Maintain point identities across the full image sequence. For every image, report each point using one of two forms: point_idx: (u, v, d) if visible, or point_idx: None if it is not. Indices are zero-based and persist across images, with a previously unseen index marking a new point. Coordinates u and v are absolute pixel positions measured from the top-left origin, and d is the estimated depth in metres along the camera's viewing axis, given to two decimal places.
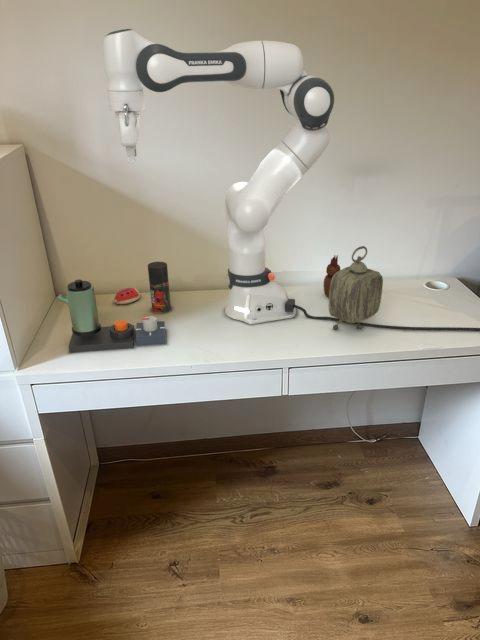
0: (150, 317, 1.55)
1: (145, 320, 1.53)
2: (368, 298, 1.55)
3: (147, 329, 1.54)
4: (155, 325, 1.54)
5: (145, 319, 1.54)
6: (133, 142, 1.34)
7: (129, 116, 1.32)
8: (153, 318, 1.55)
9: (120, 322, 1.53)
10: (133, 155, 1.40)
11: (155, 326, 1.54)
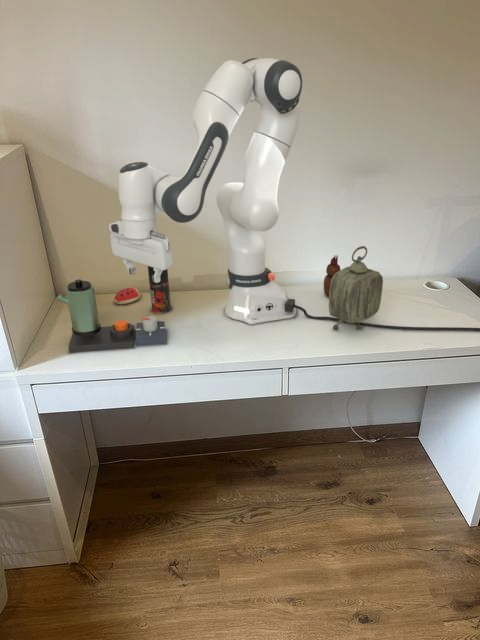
0: (150, 317, 1.55)
1: (145, 320, 1.53)
2: (368, 298, 1.55)
3: (147, 329, 1.54)
4: (155, 325, 1.54)
5: (145, 319, 1.54)
6: (172, 264, 1.42)
7: None
8: (153, 318, 1.55)
9: (120, 322, 1.53)
10: (159, 275, 1.46)
11: (155, 326, 1.54)
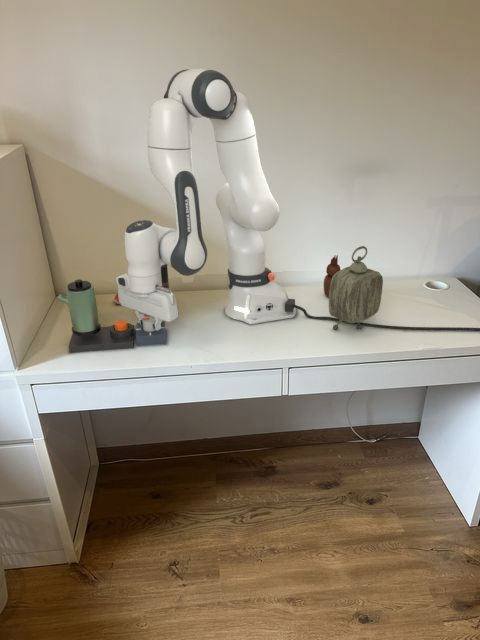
0: (150, 317, 1.55)
1: (145, 320, 1.53)
2: (368, 298, 1.55)
3: (147, 329, 1.54)
4: None
5: (145, 319, 1.54)
6: (177, 316, 1.48)
7: None
8: (153, 318, 1.55)
9: (120, 322, 1.53)
10: (160, 323, 1.53)
11: None
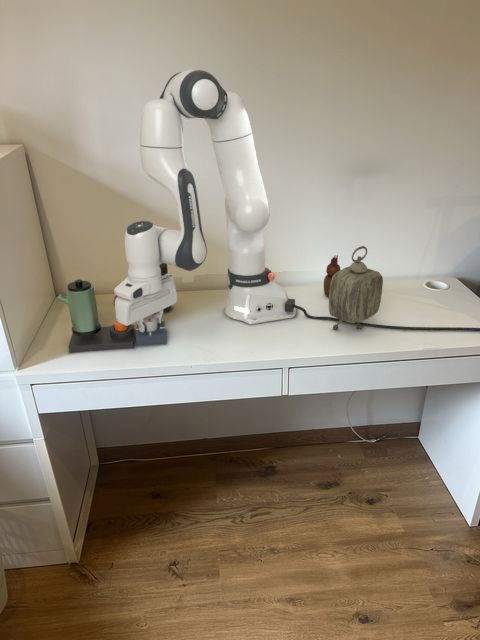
0: (145, 319, 1.54)
1: (152, 320, 1.53)
2: (368, 298, 1.55)
3: (156, 326, 1.55)
4: None
5: (150, 320, 1.53)
6: None
7: None
8: (148, 317, 1.55)
9: None
10: None
11: None
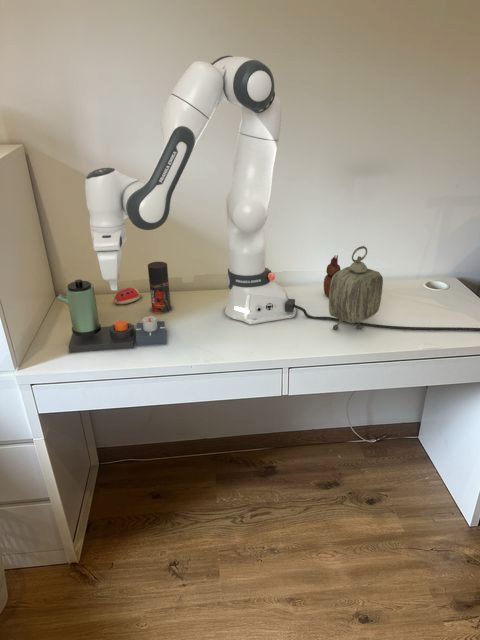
0: (145, 319, 1.54)
1: (152, 320, 1.53)
2: (368, 298, 1.55)
3: (156, 326, 1.55)
4: None
5: (150, 320, 1.53)
6: None
7: None
8: (148, 317, 1.55)
9: (120, 322, 1.53)
10: None
11: None
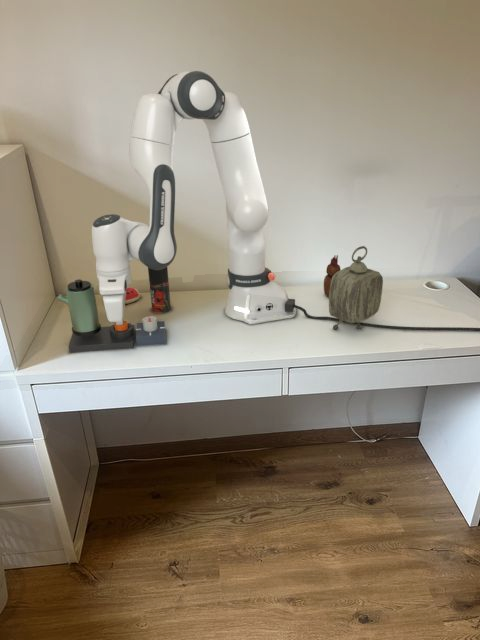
0: (145, 319, 1.54)
1: (152, 320, 1.53)
2: (368, 298, 1.55)
3: (156, 326, 1.55)
4: None
5: (150, 320, 1.53)
6: None
7: None
8: (148, 317, 1.55)
9: None
10: None
11: None
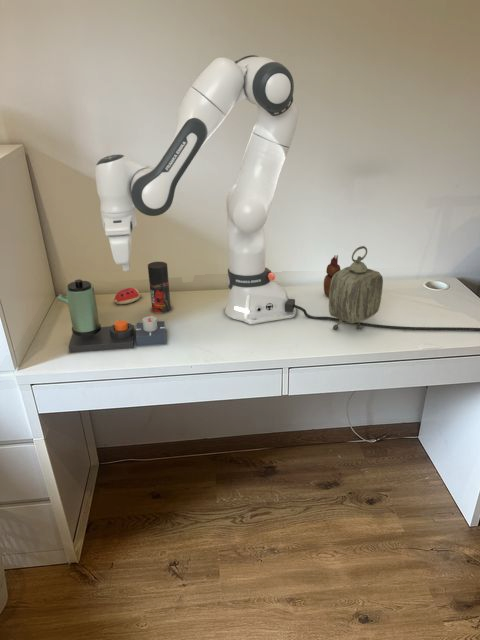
0: (145, 319, 1.54)
1: (152, 320, 1.53)
2: (368, 298, 1.55)
3: (156, 326, 1.55)
4: None
5: (150, 320, 1.53)
6: None
7: None
8: (148, 317, 1.55)
9: (120, 322, 1.53)
10: None
11: None
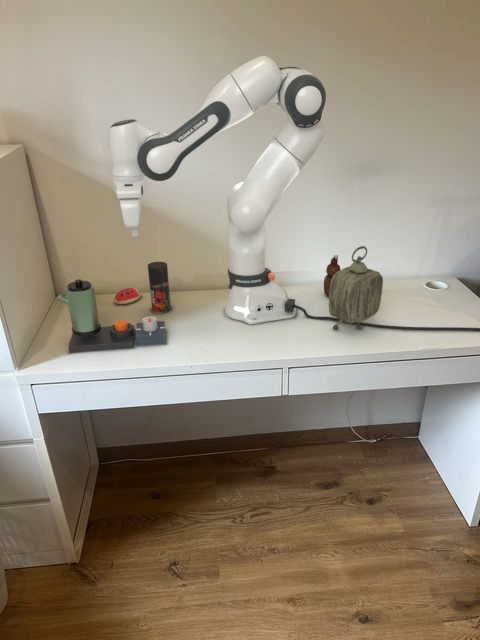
0: (145, 319, 1.54)
1: (152, 320, 1.53)
2: (368, 298, 1.55)
3: (156, 326, 1.55)
4: None
5: (150, 320, 1.53)
6: None
7: None
8: (148, 317, 1.55)
9: (120, 322, 1.53)
10: None
11: None
